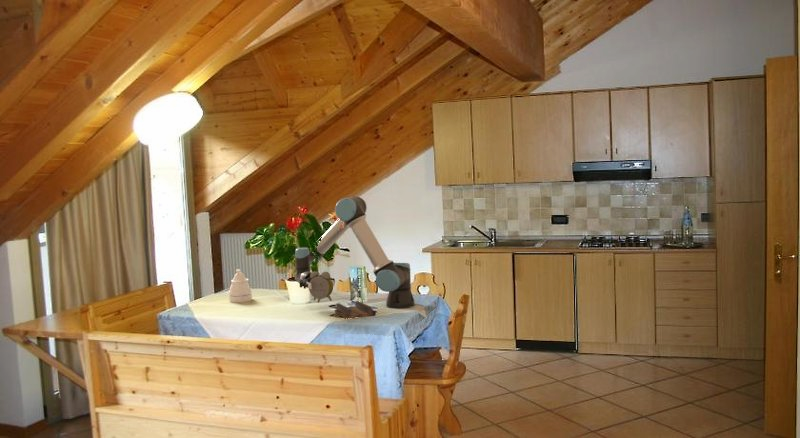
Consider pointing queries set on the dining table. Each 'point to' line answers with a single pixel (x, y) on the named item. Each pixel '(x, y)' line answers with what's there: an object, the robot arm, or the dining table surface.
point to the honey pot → (240, 288)
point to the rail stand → (354, 310)
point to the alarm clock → (321, 285)
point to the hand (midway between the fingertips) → (322, 285)
